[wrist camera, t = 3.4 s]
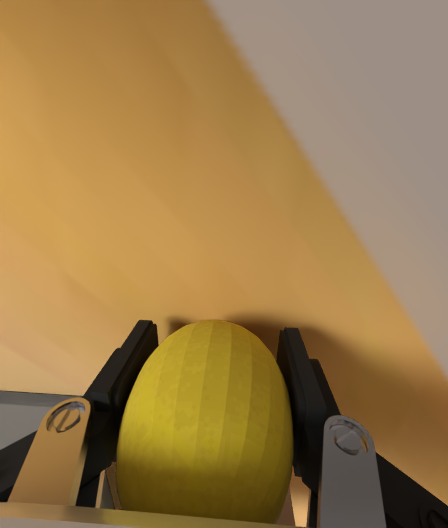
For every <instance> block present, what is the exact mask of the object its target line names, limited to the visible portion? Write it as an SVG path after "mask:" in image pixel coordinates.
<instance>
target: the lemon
mask: <svg viewBox="0 0 448 528" xmlns="http://www.w3.org/2000/svg"><path fill="white" fill-rule="evenodd" d="M293 449H294V437H293V422H292V413H291V405H290V398H289V394H288V389H287V386H286V383H285V380H284V377H283V375H282V373H281V371H280V369H279V367H278V364H277V362H276V360H275V358H274V356H273V355H272V353H271V352H270V350H269V349H268V348H267V347H266V346H265V345H264V344H263V342H262V341H261V340H260V339H259V338H258V337H257V336H256V335H254V334H253V333H251V332H250V331H248V330H247V329H245V328H244V327H242V326H240V325H237V324H234V323H232V322H228V321H221V320H202V321H198V322H195V323H192V324H188V325H186V326H184V327H182V328H180V329H179V330H177V331H175V332H174V333H172V334H171V335H169V336H168V337H167V338H166V339H165V340H164V341H163V342H162V343H161V344H160V345H159V346H158V347H157V348H156V349H155V350H154V352H153V353H152V354H151V355H150V357H149V358H148V359H147V361H146V362H145V364H144V365H143V367H142V369H141V371H140V373H139V375H138V377H137V379H136V382H135V384H134V386H133V388H132V390H131V393H130V395H129V398H128V401H127V404H126V406H125V410H124V414H123V417H122V421H121V426H120V431H119V437H118V444H117V458H116V484H117V492H118V496H119V500H120V504H121V507H122V510H125V511H137V512H148V513H159V514H170V515H181V516H192V517H203V518H214V519H224V520H235V521H245V522H256V523H266V524H276V522H277V520H278V519H279V517H280V514H281V511H282V509H283V506H284V503H285V500H286V496H287V493H288V489H289V484H290V479H291V474H292V465H293Z"/></svg>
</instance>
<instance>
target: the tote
mask: <svg viewBox="0 0 448 528" xmlns="http://www.w3.org/2000/svg"><path fill="white" fill-rule="evenodd" d="M78 397H79V398H82V397H83V396H68V395H54V394H39V393H24V392H9V391H0V450H1V449H3V448H5V447H7V446H8V445H10V444H12V443H14V442H16V441H18V440H20V439H22V438H23V437H25V436H27V435H29V434H31V433H33V432H35V431H37V430H38V428H39V426H40V424H41V421H42V420H43V418H44V416H45V415H46V414H47V413H48V412H49V411H50V410H51V409H52V408H53V407H54V406H56V405H57V404H59V403H61V402H63V401H65V400H68V399H71V398H78ZM100 508H101V509H113V510H115V508H114V504H113V500H112V497H111V493H110V489H109V485H108V481H107V477H106V473H105V475H104V482H103V489H102V496H101V503H100Z"/></svg>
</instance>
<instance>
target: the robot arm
mask: <svg viewBox="0 0 448 528" xmlns="http://www.w3.org/2000/svg"><path fill="white" fill-rule="evenodd" d="M158 346H159V345H158V334H157V325H156V324H153V322H152V321H150V320H139V321H138V322H137V324H136V325H135V327H134V328H133V330H132V331H131V333H130V334H129V336H128V337H127V339H126V340H125V342H124V343H123V345H122V346H121V348H117V349H116V350H115V351H114V352H113V354H112V355H111V356H110V358H109V359H108V361H107V362H106V364H105V365H104V367H103V368H102V370H101V371H100V372H99V374H98V375H97V377H96V378H95V380H94V381H93V383H92V384H91V385H90V387H89V388H88V390H87V391H86V393H85V394H84V396H83V397H82V398H79V397H78V398H71V399H68V400H65V401H63V402H61V403H59V404H57V405H56V406H54V407H53V408H52V409H51V410H50V411H49V412H48V413H47V414H46V415H45V416H44V418H43V420H42V421H41V424H40V426H39V428H38V430H37V431H35V432H33V433H31V434H29V435H27V436H25V437H23V438H22V439H20V440H18V441H16V442H14V443H12V444H10V445H8V446H7V447H5V448H3V449H1V450H0V528H448V506H447V505H446V504H445V503H443V502H442V501H441V500H439V499H438V498H437V497H435V496H434V495H433V494H431V493H430V492H428V491H427V490H426V489H424V488H423V487H422V486H420V485H419V484H418V483H416V482H415V481H414V480H412V479H411V478H410V477H408V476H407V475H406V474H404V473H403V472H402V471H400V470H399V469H398V468H396V467H395V466H394V465H392V464H391V463H390V462H388V461H387V460H386V459H384V458H383V457H382V456H380V455H379V454H378V453H376V452H375V446H374V443H373V440H372V438H371V436H370V435H369V433H368V431H367V430H366V429H365V428H364V427H363V426H362V425H361V424H359V423H358V422H356V421H355V420H353V419H351V418H349V417H346V416H341V414H340V412H339V409H338V407H337V404H336V402H335V399H334V397H333V394H332V392H331V390H330V387H329V385H328V382H327V380H326V377H325V375H324V373H323V370H322V368H321V365H320V363H319V361H318V360H317V359H309V357H308V354H307V352H306V349H305V346H304V343H303V341H302V338H301V335H300V332H299V330H298V328H287V327H285V329H284V331H283V330H281V331H280V335H279V344H278V352H277V360H276V362H277V364H278V367H279V369H280V371H281V373H282V375H283V377H284V380H285V383H286V386H287V389H288V394H289V398H290V405H291V413H292V422H293V437H294V449H293V467H294V473H295V476H298V477H302V481H303V482H304V484H305V485H306V486H307V487H308V488H309V501H308V513H307V526H306V527H297V526H286V525H276V524H266V523H256V522H245V521H235V520H224V519H214V518H203V517H192V516H181V515H170V514H159V513H148V512H137V511H125V510H113V509H101V508H100V503H101V496H102V489H103V482H104V475H105V469H106V468H108V467H109V466H110V465H111V463H112V461H113V462H116V458H117V444H118V437H119V431H120V426H121V421H122V417H123V414H124V410H125V406H126V404H127V401H128V398H129V395H130V393H131V390H132V388H133V386H134V384H135V382H136V379H137V377H138V375H139V373H140V371H141V369H142V367H143V365H144V364H145V362H146V361H147V359H148V358H149V357H150V355H151V354H152V353H153V352H154V350H155V349H156V348H157V347H158Z"/></svg>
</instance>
